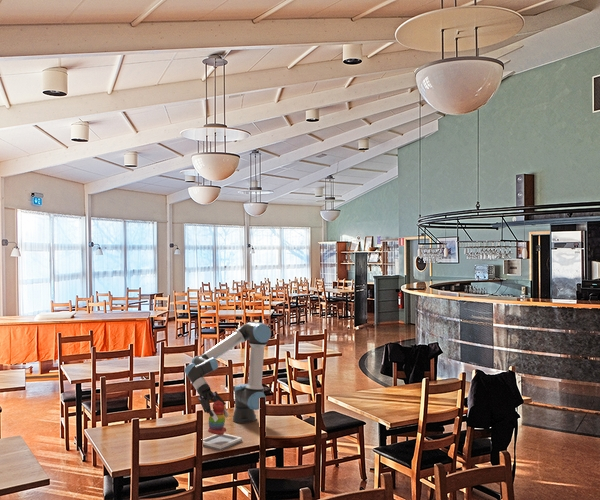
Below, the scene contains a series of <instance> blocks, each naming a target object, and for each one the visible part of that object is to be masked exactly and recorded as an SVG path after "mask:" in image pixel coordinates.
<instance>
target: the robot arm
mask: <svg viewBox="0 0 600 500" xmlns="http://www.w3.org/2000/svg"><path fill="white" fill-rule="evenodd" d="M271 336H272V331H271V328H270V327H269V326H268V325H267V323H263V322H258V321H249V322H246V323H244V324H242V325H241V326H239V327H238V328H237V329H235V331H234V333H232V334H230V335H228V336H227V337H226V338H225V339H223V340H221V341H220V342H218V343H217V344H216V345H214V346H212V347H211V348H210V349H208V350H207V351H205V352H204V353H202V354H201V355H196V356H194V357H193V358H192V359H191V360H192V361H191V363H189V364H188V365H186V366H185V368H184V373H185V375H186V377H187V378H188V380H189V381H190V383H191V384H192V386H193V387H194V389H195V390H196V392H197V394H198V398H197V400H198V401H199V403H200V405H201V408H202V410H203V412H204V413H206V414H208V415H209V417H210V416H211V417H212V418H213V419H214V421H215V422H216V421H217V420H218V417H217V416H216V414H215V413H214V411H213V409H212V407H211V405H210V404H211V403H210V401H211V402H213V403H214V402H216V401H218V400H219V401H221V402H223V404H224V405H225V406H226V405H227V403H226V402H225V401H224V400H223V398H222V397H221V396H220V395H219V394H218V391H212V388H211V387H210V385H209V384H208V382H207V381H206V379H205V377H204V376H206V375H208V374H209V373H212V372H214V371H216V370H217V369H219V363H218V360H217V359H219V358H220V357H222V356H223V355H225V354H227V352H229V351H231V350H232V349H233V348H235V347H236V346H238V345H239V344H241V343H245V342H246V341H248V344H249V345H250V354H249V355H250V356H249V367H248V368H249V369H248V380H247V383H242V384H238V385H235V386H234V412H233V415H232V421H233V422H234V423H237V424H249V423H252V422H256V421H257V415H256V413H255V411H258V410H260V409H259V398H260V397H265V403H266V401H267V398H266V397H267V396H266V395H265V393H264V386H263V384H262V382H263V372H264V371H263V368H264V357H265V347H266V346H267V345H268V342H269V340H270V339H271ZM223 412H224V415H225V419H228V417H229V416H230V413H229V412H228V409H227V408H225V409H224V410H223Z"/></svg>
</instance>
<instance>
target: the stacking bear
mask: <svg viewBox="0 0 600 500" xmlns="http://www.w3.org/2000/svg"><path fill="white" fill-rule="evenodd" d="M225 408H226V404H225V405H224V404H223V402H221V401H219V400H218V401H216V402H213V404H212V410H213V411H214V413H215V414H216V416H217V417H218V420H217V421H216V422H215V421H214V419H213V418H212V417H211V416H210V415H209V417H208V430H207V432H208V433H209V434H211V435H214V434H216V435H223V434H224V433H225V432H227V428H226V427H224V426H225V424H226V417H225V415H224V412H223V410H224V409H225ZM226 409H227V408H226Z"/></svg>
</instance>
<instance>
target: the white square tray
mask: <svg viewBox="0 0 600 500" xmlns="http://www.w3.org/2000/svg"><path fill="white" fill-rule="evenodd" d="M202 439H203V446H202V447H205V448H209V449H212V450H217V451H223V450H226V449H229V448H230V447H232V446H235V445H238V444H239V443H242V442H243V437H242V436H241V437H240V436H237V435H232V434H228V433H225V432H224V434H223V435H216V434H211V435H210V436H207V437H204V438H202Z"/></svg>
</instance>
